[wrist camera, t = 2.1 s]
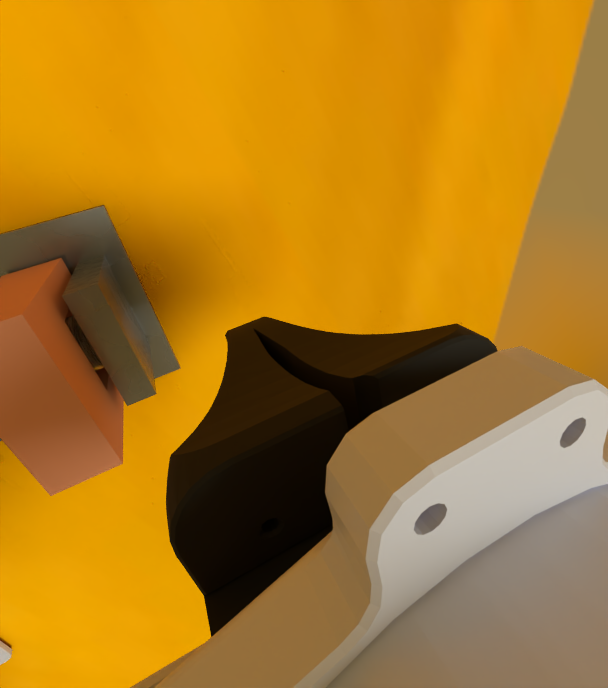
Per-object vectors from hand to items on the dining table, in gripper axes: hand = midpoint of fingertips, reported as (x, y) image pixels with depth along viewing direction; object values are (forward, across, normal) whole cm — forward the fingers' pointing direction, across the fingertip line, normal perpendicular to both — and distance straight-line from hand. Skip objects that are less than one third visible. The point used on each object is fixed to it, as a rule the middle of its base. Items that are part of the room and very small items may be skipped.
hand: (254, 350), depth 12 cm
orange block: (+10, +7, 0) cm, 12 cm away
